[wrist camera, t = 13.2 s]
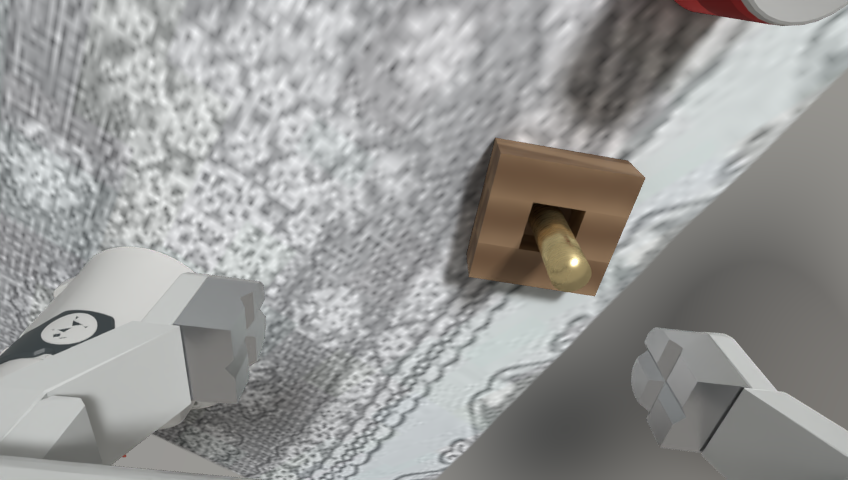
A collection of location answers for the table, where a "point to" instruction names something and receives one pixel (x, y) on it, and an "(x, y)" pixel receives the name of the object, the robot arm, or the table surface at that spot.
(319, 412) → the table surface
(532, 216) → the pin
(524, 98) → the table surface
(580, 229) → the socket block
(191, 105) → the table surface
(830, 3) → the canned food
